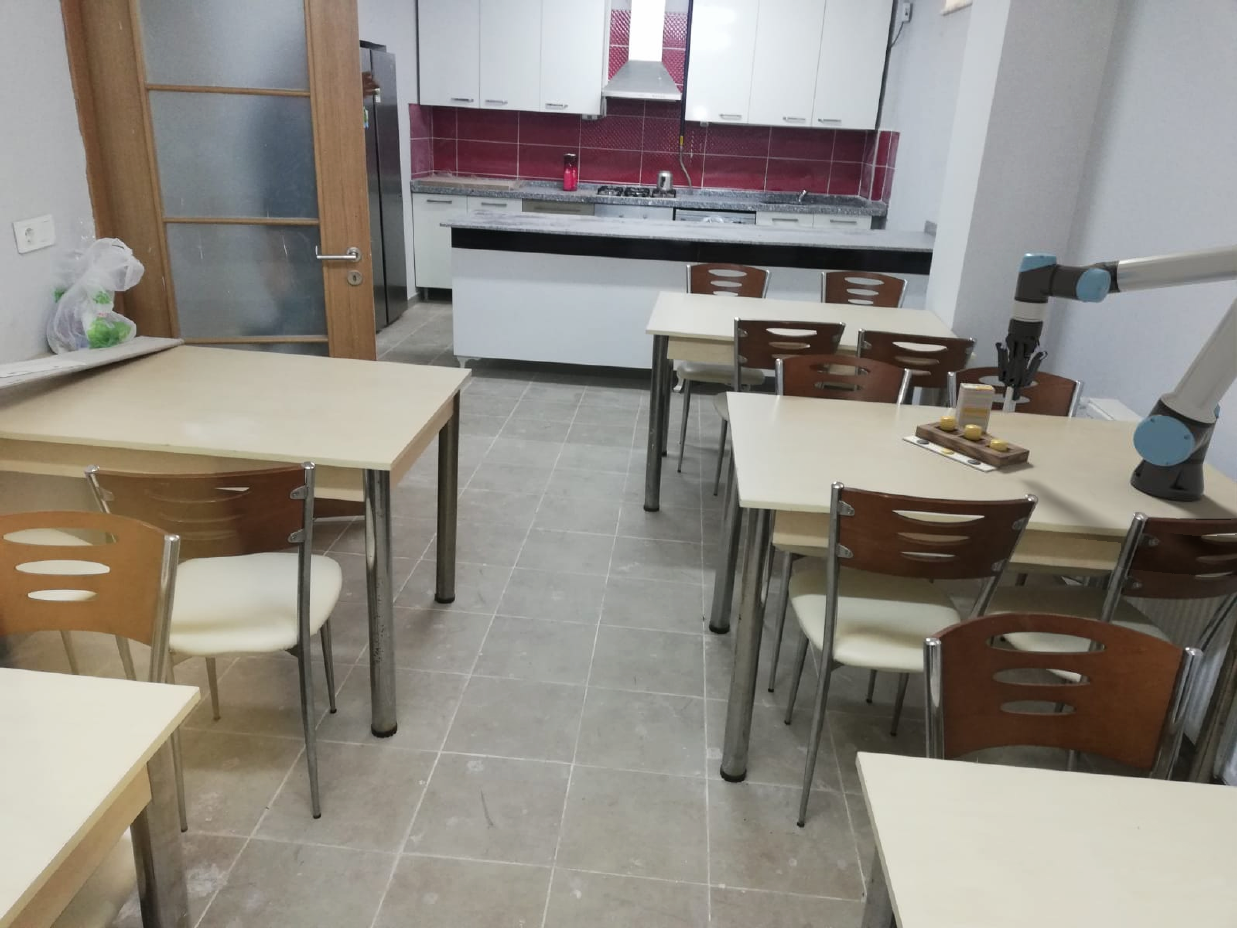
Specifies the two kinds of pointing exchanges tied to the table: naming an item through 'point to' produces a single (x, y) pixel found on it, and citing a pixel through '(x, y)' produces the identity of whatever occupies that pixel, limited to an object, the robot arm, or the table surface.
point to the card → (950, 453)
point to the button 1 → (947, 423)
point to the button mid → (972, 432)
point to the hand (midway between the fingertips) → (1008, 411)
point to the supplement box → (974, 405)
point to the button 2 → (998, 445)
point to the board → (972, 445)
